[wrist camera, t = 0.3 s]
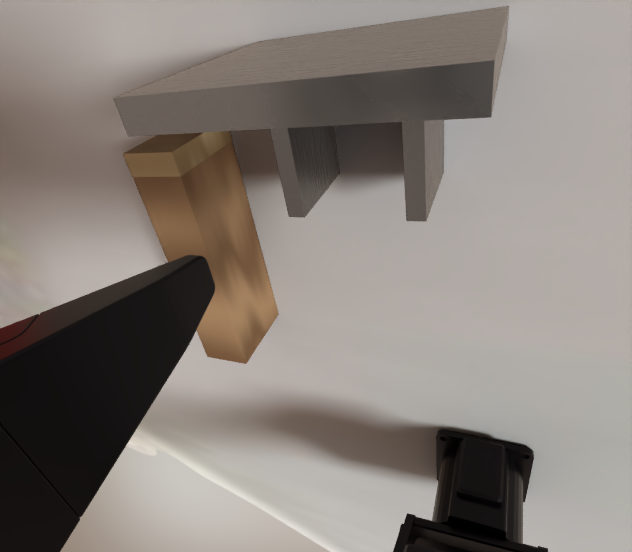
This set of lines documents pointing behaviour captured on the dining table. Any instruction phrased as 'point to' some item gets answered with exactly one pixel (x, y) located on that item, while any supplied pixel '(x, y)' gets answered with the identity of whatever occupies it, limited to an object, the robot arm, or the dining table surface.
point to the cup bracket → (338, 96)
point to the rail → (209, 232)
